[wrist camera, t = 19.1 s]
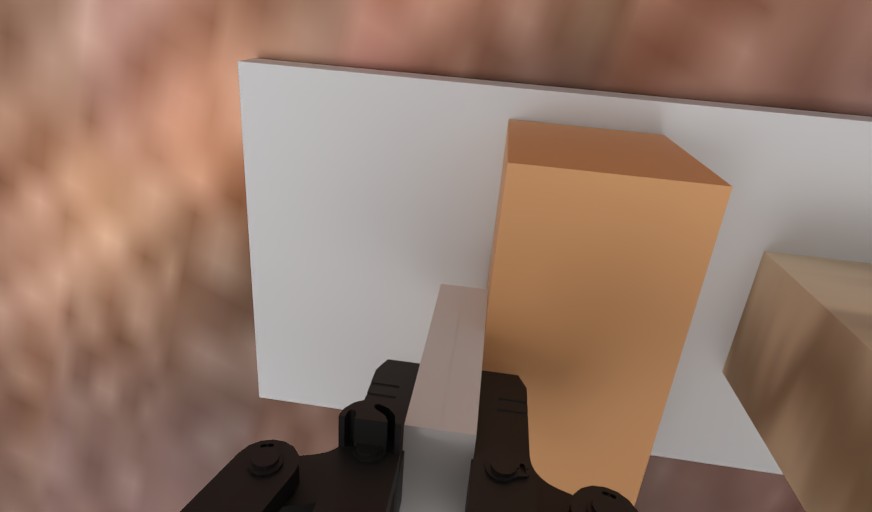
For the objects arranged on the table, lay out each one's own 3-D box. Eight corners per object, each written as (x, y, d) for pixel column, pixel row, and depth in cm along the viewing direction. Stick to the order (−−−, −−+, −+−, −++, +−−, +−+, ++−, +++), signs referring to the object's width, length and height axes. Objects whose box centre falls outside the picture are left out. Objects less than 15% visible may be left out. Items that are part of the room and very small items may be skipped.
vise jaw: (592, 427, 23) (618, 558, 17) (470, 410, 23) (458, 532, 17) (664, 134, 18) (732, 186, 12) (508, 118, 18) (507, 162, 13)
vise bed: (963, 476, 23) (1153, 669, 16) (272, 376, 26) (185, 507, 19) (1169, 145, 17) (1595, 226, 11) (256, 58, 20) (123, 78, 13)
